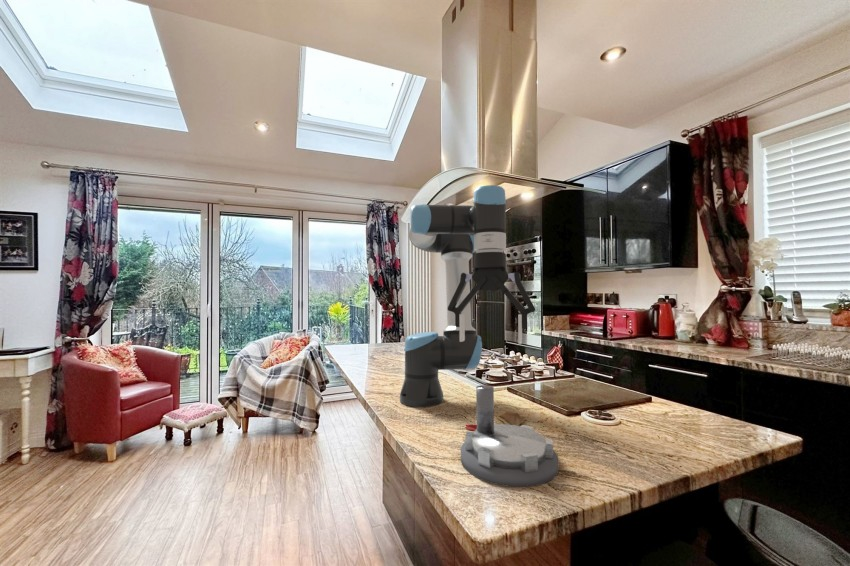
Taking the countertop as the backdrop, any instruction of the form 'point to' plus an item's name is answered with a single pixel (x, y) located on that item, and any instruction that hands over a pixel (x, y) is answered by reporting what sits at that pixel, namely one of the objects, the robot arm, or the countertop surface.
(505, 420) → the shard
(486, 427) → the tabbed dome lid
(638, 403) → the countertop surface
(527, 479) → the base plate
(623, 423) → the countertop surface
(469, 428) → the cayenne pepper
